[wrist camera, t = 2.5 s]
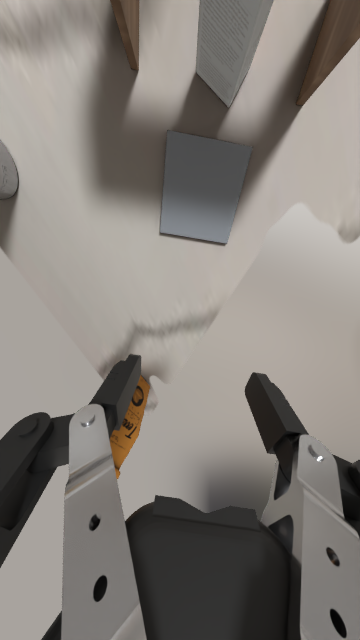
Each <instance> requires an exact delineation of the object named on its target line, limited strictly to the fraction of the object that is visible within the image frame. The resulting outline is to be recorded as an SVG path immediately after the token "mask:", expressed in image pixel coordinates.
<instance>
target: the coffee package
mask: <svg viewBox="0 0 360 640" xmlns="http://www.w3.org/2000/svg"><path fill="white" fill-rule="evenodd" d="M149 389H150V386H149V385H148V384H147V382H146V381H145V380H144V378H143V377H142V376H141V375H140V379H139V382H138V384H137V387H136V389H135V392H134V395H133V397H132V400H131V402H130V405H129V407H128V410H127V412H126V415H125V418H124V420H123V423H122V425H121V428H120V430H119V431H117V430H114V431H113V433H112V435H111V438H110V446H111V451H112V456H113V462H114V467H115V472H116V478H117V479H118V477H119V475H120V472H119V469H120V467H121V465H122V463H123V461H124V459H125V458H126V457H127V455H128V453H129V451H130V449H131V448H132V446H133V444H134V443H135V441H136V439H137V437H138V435H139V431H140V426H141V422H142V418H143V415H144V409H145V406H146V403H147V397H148V393H149Z"/></svg>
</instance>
